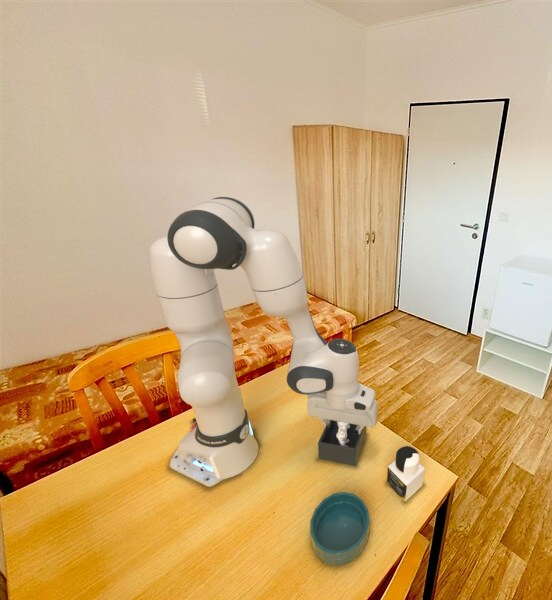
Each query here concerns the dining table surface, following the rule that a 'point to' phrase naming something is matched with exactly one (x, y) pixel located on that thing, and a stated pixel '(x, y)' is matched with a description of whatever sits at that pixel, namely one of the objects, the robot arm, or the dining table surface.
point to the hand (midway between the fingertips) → (342, 429)
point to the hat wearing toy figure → (342, 433)
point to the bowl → (339, 528)
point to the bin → (334, 451)
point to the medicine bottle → (405, 473)
